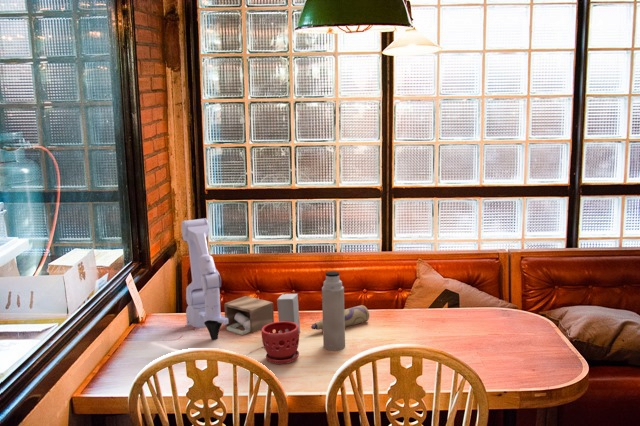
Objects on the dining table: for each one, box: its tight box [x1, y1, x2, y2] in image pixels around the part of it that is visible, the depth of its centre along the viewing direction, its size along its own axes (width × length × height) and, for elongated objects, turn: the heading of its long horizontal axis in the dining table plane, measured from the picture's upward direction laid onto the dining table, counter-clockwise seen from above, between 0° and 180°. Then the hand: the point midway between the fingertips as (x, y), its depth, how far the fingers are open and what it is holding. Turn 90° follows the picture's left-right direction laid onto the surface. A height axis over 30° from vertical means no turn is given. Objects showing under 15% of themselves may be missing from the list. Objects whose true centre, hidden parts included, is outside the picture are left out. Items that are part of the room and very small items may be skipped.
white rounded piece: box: [234, 312, 250, 326], centre depth 261 cm, size 4×4×6 cm
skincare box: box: [276, 293, 301, 334], centre depth 251 cm, size 8×7×16 cm
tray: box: [226, 318, 251, 336], centre depth 260 cm, size 9×13×3 cm
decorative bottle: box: [310, 304, 370, 331], centre depth 259 cm, size 26×8×7 cm, turn 123°
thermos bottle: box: [321, 270, 346, 351], centre depth 238 cm, size 8×8×28 cm
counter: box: [223, 295, 275, 334], centre depth 262 cm, size 15×12×10 cm
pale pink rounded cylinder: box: [242, 320, 250, 330], centre depth 259 cm, size 4×4×6 cm
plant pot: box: [260, 321, 300, 365], centre depth 229 cm, size 13×13×12 cm
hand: (214, 338), depth 248 cm, fingers closed
